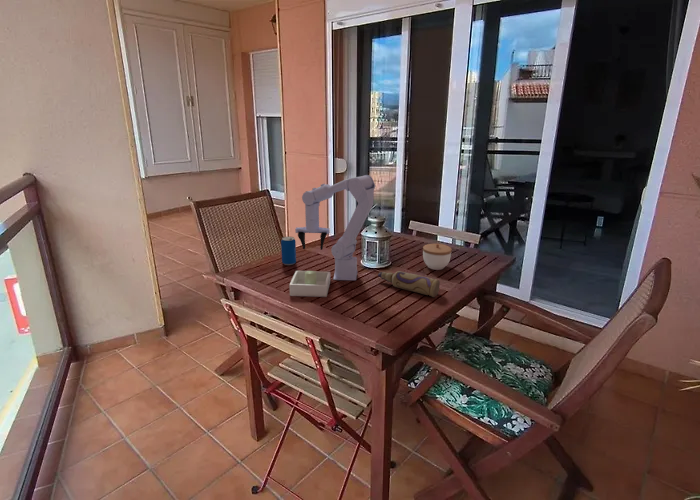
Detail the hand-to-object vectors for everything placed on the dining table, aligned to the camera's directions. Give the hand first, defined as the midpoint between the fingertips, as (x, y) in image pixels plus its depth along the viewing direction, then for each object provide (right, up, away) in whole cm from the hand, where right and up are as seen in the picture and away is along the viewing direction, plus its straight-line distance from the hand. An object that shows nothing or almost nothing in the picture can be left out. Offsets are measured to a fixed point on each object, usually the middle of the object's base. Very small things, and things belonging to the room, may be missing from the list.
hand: (312, 248), depth 174 cm
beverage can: (-12, -7, +9) cm, 16 cm away
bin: (+1, -16, -17) cm, 23 cm away
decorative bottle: (+40, -16, -15) cm, 45 cm away
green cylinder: (+1, -15, -17) cm, 23 cm away
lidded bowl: (+55, -8, +7) cm, 56 cm away
